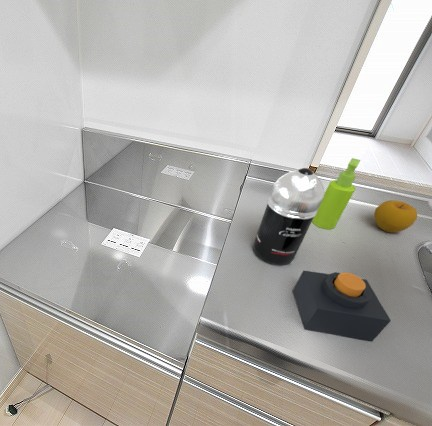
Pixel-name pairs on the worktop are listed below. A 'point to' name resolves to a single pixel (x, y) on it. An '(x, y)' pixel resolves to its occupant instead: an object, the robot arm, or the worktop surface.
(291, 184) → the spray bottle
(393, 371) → the worktop surface
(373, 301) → the button base
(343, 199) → the soap dispenser
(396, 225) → the apple
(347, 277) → the orange disc
